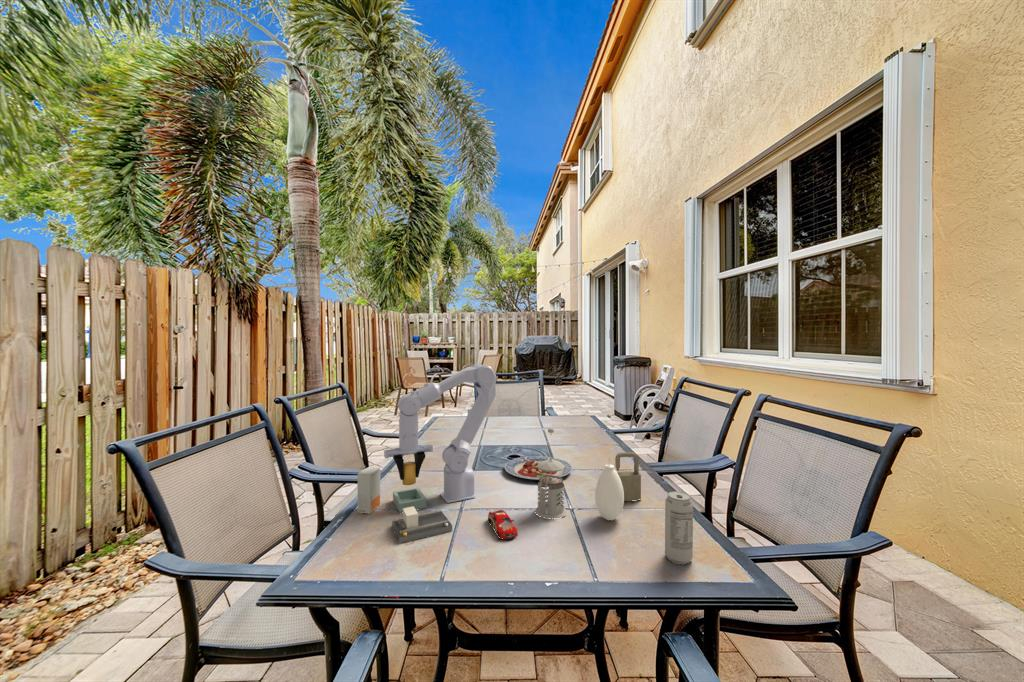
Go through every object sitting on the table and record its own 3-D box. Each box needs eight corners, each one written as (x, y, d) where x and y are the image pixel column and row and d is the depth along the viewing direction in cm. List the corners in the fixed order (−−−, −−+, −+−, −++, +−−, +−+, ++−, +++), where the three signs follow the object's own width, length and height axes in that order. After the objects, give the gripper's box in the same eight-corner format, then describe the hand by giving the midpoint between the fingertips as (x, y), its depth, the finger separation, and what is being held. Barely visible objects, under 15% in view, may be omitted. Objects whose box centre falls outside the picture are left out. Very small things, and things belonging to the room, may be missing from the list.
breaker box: (441, 515, 116) (441, 506, 116) (452, 531, 108) (452, 521, 107) (391, 526, 110) (391, 516, 110) (399, 543, 101) (399, 533, 101)
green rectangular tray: (418, 496, 130) (418, 487, 130) (426, 508, 122) (426, 498, 121) (393, 501, 127) (393, 491, 127) (399, 513, 118) (399, 503, 118)
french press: (571, 508, 121) (571, 426, 121) (559, 525, 111) (559, 435, 110) (541, 502, 125) (541, 423, 125) (527, 518, 115) (526, 431, 114)
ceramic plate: (509, 460, 168) (509, 453, 168) (571, 462, 164) (571, 455, 164) (499, 483, 142) (499, 474, 142) (572, 486, 139) (572, 478, 139)
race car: (520, 540, 103) (520, 525, 103) (499, 544, 102) (499, 528, 101) (504, 517, 116) (504, 504, 116) (486, 520, 114) (486, 506, 114)
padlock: (612, 496, 130) (612, 450, 129) (637, 496, 130) (637, 450, 129) (615, 502, 126) (615, 454, 125) (641, 501, 126) (641, 454, 125)
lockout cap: (414, 479, 127) (413, 460, 127) (417, 483, 123) (417, 464, 123) (401, 481, 125) (401, 462, 125) (404, 486, 121) (403, 466, 121)
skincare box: (370, 514, 117) (369, 474, 117) (357, 513, 118) (356, 473, 118) (381, 505, 123) (380, 467, 123) (368, 504, 124) (368, 466, 124)
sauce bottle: (615, 528, 109) (615, 462, 108) (590, 519, 114) (590, 456, 114) (628, 518, 114) (628, 456, 114) (604, 510, 120) (604, 450, 119)
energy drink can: (689, 553, 96) (690, 491, 96) (695, 567, 91) (695, 501, 90) (663, 550, 98) (663, 489, 97) (666, 564, 92) (667, 499, 92)
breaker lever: (413, 520, 110) (413, 506, 110) (418, 528, 106) (418, 513, 106) (402, 523, 109) (402, 508, 109) (406, 531, 104) (406, 515, 104)
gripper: (386, 440, 117) (387, 486, 117) (435, 434, 123) (435, 477, 124) (382, 434, 123) (383, 478, 123) (429, 429, 130) (429, 470, 130)
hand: (409, 477), depth 124 cm, fingers closed on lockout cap, 4 cm apart
